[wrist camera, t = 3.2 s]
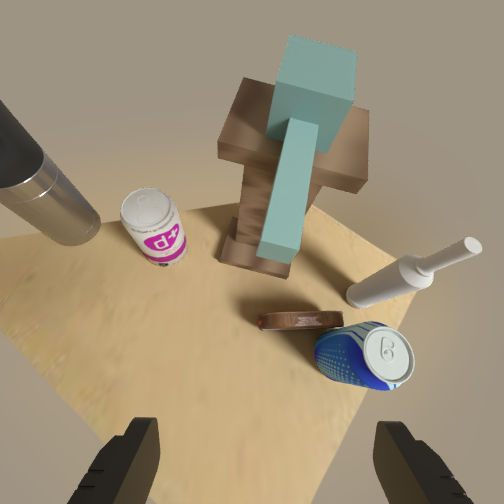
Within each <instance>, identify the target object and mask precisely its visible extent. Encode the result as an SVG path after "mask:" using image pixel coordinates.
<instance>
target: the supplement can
mask: <svg viewBox="0 0 504 504" xmlns="http://www.w3.org/2000/svg"><path fill="white" fill-rule="evenodd" d="M120 217H121V223H122V224H123V226H124V227H125V228H126V230H127V231H128V233H129V234H130V235H131V237H132V238H133V239H134V241H135V242H136V243H137V245H138V246H139V247H140V249H141V250H142V251H143V253H144V254H145V255H146V257H147V258H148V259H149V261H150V262H152V263H153V264H155V265H157V266H162V267H167V266H172V265H175V264H177V263H179V262H180V261H181V260H182V259H183V258H184V257H185V255H186V253H187V248H188V244H187V241H186V237H185V234H184V231H183V227H182V224H181V221H180V217H179V214H178V211H177V207H176V204H175V202H174V201H173V200H172V199H171V197H169V196H168V195H166V194H165V193H164V192H162V191H161V190H159V189H155V188H141V189H138V190H135V191H133V192H132V193H130V194H129V195H127V197H126V198H125V199H124V200H123V202H122V206H121V213H120Z"/></svg>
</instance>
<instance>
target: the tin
mask: <svg viewBox="0 0 504 504" xmlns="http://www.w3.org/2000/svg"><path fill="white" fill-rule="evenodd" d="M342 313H343V312H342V311H304V312H274V313H265V314H259V315H258V325H259V329H260V330H263V331H270V330H306V329H325V328H334V327H343V326H344V322H343V316H342Z"/></svg>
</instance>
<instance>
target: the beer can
mask: <svg viewBox="0 0 504 504" xmlns="http://www.w3.org/2000/svg"><path fill="white" fill-rule="evenodd" d="M314 356H315V361H316V364H317V366H318V368H319V369H320V371H321V372H322V373H323V374H324V375H325V376H326V377H328V378H329V379H331V380H333V381H337V382H342V383H347V384H352V385H357V386H362V387H366V388H371V389H376V390H384V391H385V390H392V389H394V388H396V387H398V386H399V385H401V384H402V383H403V382H405V381H406V380H407V379H409V377H410V376H411V374H412V372H413V369H414V355H413V351H412V348H411V346H410V344H409V343H408V341H407V340H406V338H405V337H404V336H403V335H402V334H401V333H399V332H398V331H396V330H395V329H393V328H390V327H388V326H386V325H384V324H382V323H378V322H363V323H359V324H355V325H351V326H347V327H343V328H339V329H335V330H331V331H328V332H325V333H323V334H322V335H321V336H320V337H319V338H318V340H317V342H316V344H315V348H314Z"/></svg>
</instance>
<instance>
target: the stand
mask: <svg viewBox="0 0 504 504" xmlns="http://www.w3.org/2000/svg"><path fill="white" fill-rule="evenodd" d="M274 89H275V85H271V84H267V83H263V82H260V81H256V80H252V79H248V78H245V77H244V78H243V80H242V83H241V85H240V87H239V90H238V92H237V95H236V98H235V100H234V102H233V104H232V107H231V110H230V112H229V114H228V117H227V119H226V122H225V124H224V127H223V129H222V131H221V134H220V136H219V139H218V158H219V159H224V160H227V161H231V162H235V163H239V164H243V165H244V174H243V182H242V190H241V199H240V207H239V215H238V218H235V217H233V218H232V221H231V224H230V228H229V231H228V234H227V237H226V241H225V244H224V247H223V250H222V254H221V257H220V263H224V264H228V265H232V266H236V267H240V268H244V269H248V270H252V271H256V272H260V273H263V274H267V275H271V276H275V277H279V278H283V279H287V278H288V277H289V272H290V266H291V263H290V264H285V263H282V262H278V261H274V260H270V259H266V258H262V257H258V256H256V253H257V249H258V245H259V240H260V236H261V232H262V228H263V224H264V220H265V215H266V211H267V207H268V203H269V199H270V195H271V190H272V186H273V182H274V178H275V174H276V170H277V166H278V161H279V157H280V153H281V149H282V145H283V142H281V141H277V140H273V139H270V138H266V137H265V135H266V130H267V125H268V120H269V114H270V109H271V104H272V99H273V94H274ZM368 140H369V110H365V109H361V108H357V107H354V106H351V108H350V110H349V112H348V114H347V116H346V118H345V119H344V121H343V123H342V125H341V127H340V129H339V131H338V133H337V135H336V137H335V139H334V141H333V143H332V145H331V147H330V149H329V151H328V152H327V153H323V152H319V151H315V153H314V159H313V166H312V172H311V178H310V185H309V191H308V198H307V204H306V211H305V215H306V213H307V211H308V210H309V208H310V206H311V204H312V203H313V201H314V199H315V198H316V196H317V194H318V192H319V191H320V189H321V187H322V186H327V187H331V188H335V189H338V190H343V191H346V192H350V193H354V194H357V192H358V191H359V190H360V189H361V188H362V187H363V185H364V184H365V183H366V182H367V181H368Z"/></svg>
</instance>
